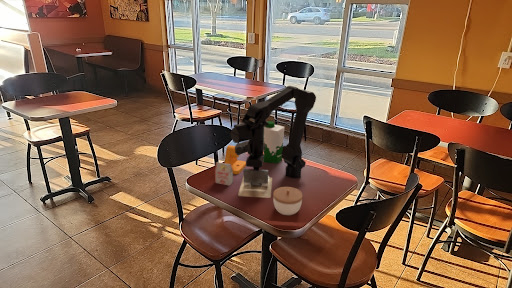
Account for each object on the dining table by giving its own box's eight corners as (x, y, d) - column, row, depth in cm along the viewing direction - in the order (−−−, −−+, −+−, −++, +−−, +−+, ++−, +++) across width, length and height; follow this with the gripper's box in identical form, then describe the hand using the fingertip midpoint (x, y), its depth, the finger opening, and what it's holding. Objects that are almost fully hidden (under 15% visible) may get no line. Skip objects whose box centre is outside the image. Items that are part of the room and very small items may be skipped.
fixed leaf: (268, 177, 145) (269, 172, 144) (267, 188, 136) (267, 183, 135) (246, 176, 146) (246, 171, 145) (243, 186, 137) (244, 181, 136)
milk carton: (269, 156, 169) (270, 119, 161) (284, 160, 164) (286, 122, 157) (260, 162, 162) (261, 123, 154) (276, 166, 157) (278, 127, 150)
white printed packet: (218, 181, 143) (218, 160, 140) (233, 183, 141) (232, 162, 137) (215, 184, 140) (214, 163, 136) (229, 187, 138) (229, 166, 134)
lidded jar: (271, 218, 118) (272, 196, 114) (273, 202, 128) (274, 181, 124) (301, 221, 116) (302, 198, 113) (301, 205, 126) (303, 183, 123)
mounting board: (272, 179, 145) (272, 177, 145) (270, 199, 129) (270, 197, 129) (243, 178, 146) (243, 176, 146) (238, 198, 130) (238, 195, 130)
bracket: (238, 176, 148) (238, 152, 143) (223, 173, 150) (223, 149, 145) (247, 166, 157) (247, 143, 152) (233, 164, 159) (233, 141, 155)
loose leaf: (267, 187, 136) (268, 184, 138) (268, 171, 130) (268, 167, 132) (244, 186, 137) (244, 182, 139) (243, 170, 131) (243, 166, 133)
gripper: (239, 127, 136) (239, 161, 142) (232, 145, 119) (232, 182, 125) (266, 129, 135) (265, 163, 142) (262, 147, 118) (261, 184, 124)
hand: (255, 172), depth 133 cm, fingers closed
